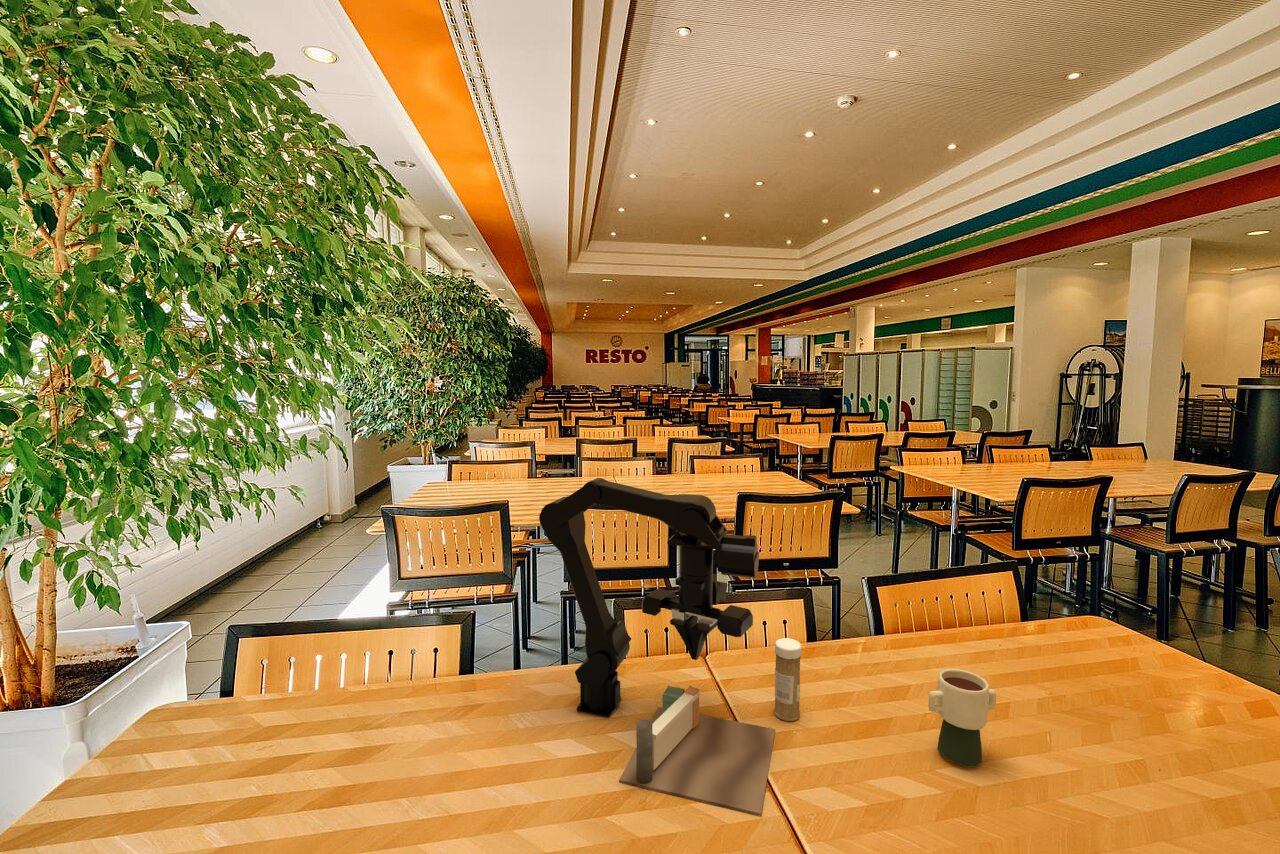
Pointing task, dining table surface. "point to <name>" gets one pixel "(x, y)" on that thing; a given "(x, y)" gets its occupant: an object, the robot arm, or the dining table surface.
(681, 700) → the orange and cream block
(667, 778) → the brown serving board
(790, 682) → the sprinkles bottle
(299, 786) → the dining table surface
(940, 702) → the character mug
